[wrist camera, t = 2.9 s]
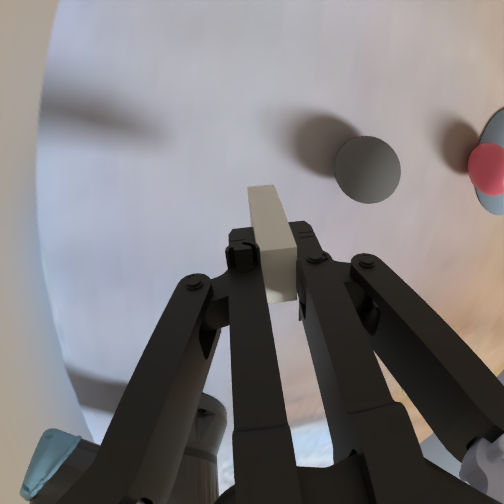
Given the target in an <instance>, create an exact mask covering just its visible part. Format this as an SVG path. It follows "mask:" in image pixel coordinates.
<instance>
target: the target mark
mask: <svg viewBox="0 0 504 504" xmlns="http://www.w3.org/2000/svg"><path fill="white" fill-rule="evenodd" d="M483 143H495V144H497V145H499V146H501V147H502V148H504V109H503V110H501V111H499V112H498V113H497V114H496V115H495V116H494V117H493V118H492V119H491V120H490V122H489V123H488V125H487V127H486V128H485V130H484V132H483V135H482V137H481V140H480V143H479V145H480V144H483ZM476 192H477V195H478V198H479V200H480V202H481V204H482V205H483V207H484V208H485V209H486V210H487V211H489V212H490V213H492V214H495V215H504V193H503V194H502V195H499V196H488V195H485V194H483V193H482V192H480V191H479V190H478V189H477V188H476Z"/></svg>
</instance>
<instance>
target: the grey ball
mask: <svg viewBox="0 0 504 504" xmlns="http://www.w3.org/2000/svg"><path fill="white" fill-rule="evenodd" d="M334 171H335V177H336V180H337V183H338V185H339V186H340V188H341V189H342V191H343V192H344V193H345V194H346V195H347V196H349V197H350V198H351V199H353V200H355V201H358V202H361V203H367V204H371V203H377V202H381V201H383V200H385V199H386V198H388V197H389V196H390V195H391V194H392V193H393V192H394V191H395V189H396V188H397V186H398V183H399V180H400V175H401V168H400V162H399V159H398V157H397V155H396V153H395V152H394V150H393V149H392V148H391V147H390V146H389V145H388V144H387V143H386V142H384V141H382V140H381V139H378V138H375V137H371V136H361V137H357V138H354V139H352V140H350V141H348V142H347V143H346V144H344V145H343V147H342V148H341V149H340V151H339V152H338V154H337V156H336V159H335V166H334Z"/></svg>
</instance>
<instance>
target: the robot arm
mask: <svg viewBox="0 0 504 504" xmlns="http://www.w3.org/2000/svg"><path fill="white" fill-rule="evenodd" d="M247 188H248V198H249V208H250V219H251V227H247V228H238V229H232V231H231V232H230V234H229V246H228V247H227V248H226V250H225V254H226V260H227V266H228V270H227V271H226V272H225V273H224V274H222V275H221V276H219V277H216V278H213V279H210V278H209V277H208V276H207V275H205V274H200V273H197V274H191V275H188V276H186V277H184V278H183V279H181V280H180V282H179V283H178V285H177V287H176V289H175V290H174V292H173V294H172V296H171V298H170V300H169V302H168V304H167V306H166V308H165V310H164V312H163V314H162V316H161V318H160V320H159V322H158V324H157V326H156V328H155V330H154V332H153V334H152V336H151V338H150V340H149V342H148V344H147V346H146V348H145V350H144V352H143V354H142V356H141V358H140V360H139V362H138V364H137V366H136V368H135V371H134V373H133V375H132V377H131V379H130V381H129V383H128V385H127V388H126V390H125V392H124V394H123V396H122V398H121V401H120V403H119V405H118V407H117V409H116V412H115V414H114V416H113V418H112V420H111V423H110V425H109V427H108V429H107V432H106V434H105V436H104V439H103V441H102V443H101V445H98V444H95V443H92V442H90V441H87V440H84V439H82V437H81V436H74V435H72V434H69V433H66V432H64V431H61V430H58V429H53V428H52V429H48V430H46V431H45V432H44V433H43V435H42V436H41V438H40V440H39V443H38V445H37V447H36V449H35V452H34V454H33V457H32V459H31V462H30V464H29V467H28V469H27V472H26V475H25V478H24V481H23V484H22V487H21V490H20V495H21V496H22V497H23V498H24V499H25V500H26V501H30V504H504V386H503V385H502V383H501V382H500V381H499V380H498V379H497V377H496V376H495V375H494V374H493V373H492V372H491V371H490V369H489V368H488V367H487V366H486V365H485V364H484V363H483V362H482V360H481V359H480V358H479V357H478V356H477V355H476V354H475V353H474V352H473V351H472V349H471V348H470V347H469V346H468V345H467V344H466V343H465V342H464V341H463V340H462V339H461V338H460V337H459V336H458V334H457V333H456V332H455V331H454V330H453V329H452V328H451V327H450V326H449V325H448V324H447V323H446V322H445V321H444V320H443V319H442V318H441V317H440V316H439V315H438V314H437V313H436V312H435V311H434V310H433V309H432V308H431V307H430V306H429V305H428V304H427V303H426V302H425V301H424V300H423V299H422V298H421V297H420V296H419V295H418V294H417V293H416V292H415V291H414V290H413V289H412V288H411V287H410V286H409V285H408V284H406V283H405V282H404V281H403V280H402V279H401V278H400V277H399V276H398V275H397V274H396V273H395V272H394V271H393V270H392V269H391V268H389V267H388V266H387V265H386V264H385V263H384V262H383V261H382V260H381V259H380V258H378V257H377V256H375V255H372V254H366V253H362V254H357V255H355V256H354V257H353V258H352V259H351V263H346V262H338V261H334V260H333V259H332V257H331V256H330V255H329V254H328V253H327V252H325V251H323V250H322V248H321V246H320V244H319V242H318V239H317V237H316V235H315V233H314V232H313V229H312V227H311V225H310V224H308V223H307V222H305V221H296V222H288V221H287V218H286V215H285V212H284V210H283V207H282V204H281V202H280V199H279V196H278V194H277V191H276V188H275V186H274V185H264V186H254V187H247ZM297 293H298V297H299V321H301V318H302V321H303V325H304V329H305V333H306V337H307V341H308V345H309V349H310V353H311V356H312V360H313V364H314V368H315V372H316V376H317V381H318V385H319V389H320V393H321V397H322V401H323V405H324V409H325V414H326V418H327V422H328V426H329V431H330V435H331V439H332V444H333V461H334V465H332V466H329V467H326V468H317V467H299V466H296V460H295V454H294V448H293V442H292V436H291V431H290V427H289V425H288V422H287V416H286V410H285V404H284V398H283V391H282V385H281V379H280V373H279V367H278V361H277V355H276V349H275V343H274V337H273V332H272V326H271V320H270V314H269V308H268V304H269V303H278V302H286V301H294V300H297ZM228 325H230V350H231V374H232V395H233V415H234V431H233V434H232V445H233V463H234V479H235V485H233V486H231V487H230V488H229V489H227V490H226V491H225V492H224V493H223V494H221V495H220V496H219V489H218V471H217V453H218V450H219V447H220V444H221V441H222V438H223V435H224V432H225V429H226V426H227V413H226V409H225V407H224V406H223V404H222V403H220V402H219V401H218V400H216V399H215V398H213V397H211V396H208V395H206V394H203V393H202V391H203V388H204V385H205V382H206V378H207V375H208V372H209V369H210V366H211V362H212V359H213V356H214V353H215V350H216V346H217V343H218V340H219V337H220V334H221V328H222V327H225V326H228ZM373 350H374V351H375V353H376V354H377V355H378V357H379V358H380V359H381V361H382V362H383V363H384V365H385V366H386V367H387V369H388V370H389V371H390V373H391V374H392V375H393V377H394V378H395V379H396V381H397V382H398V383H399V385H400V386H401V387H402V389H403V390H404V392H405V393H406V394H407V396H408V397H409V398H410V400H411V401H412V402H413V404H414V405H415V407H416V408H417V409H418V411H419V412H420V413H421V415H422V416H423V418H424V419H425V420H426V422H427V423H428V425H429V426H430V427H431V429H432V430H433V432H434V433H435V434H436V436H437V437H438V439H439V440H440V441H441V443H442V444H443V445H444V446H445V448H446V449H447V450H448V451H449V452H450V453H451V454H452V455H453V456H454V457H455V458H456V459H457V460H458V461H460V462H461V463H462V465H461V469H460V472H459V476H460V478H461V480H460V479H458V478H457V477H455V476H453V475H452V474H450V473H448V472H447V471H445V470H443V469H442V468H440V467H439V466H437V465H435V464H434V463H432V462H430V461H429V460H427V459H426V458H424V457H423V454H422V451H421V448H420V445H419V442H418V439H417V437H416V434H415V431H414V428H413V426H412V423H411V420H410V418H409V415H408V412H407V410H406V408H405V407H404V405H403V404H402V403H401V402H395V401H394V400H393V398H392V396H391V394H390V391H389V389H388V386H387V383H386V381H385V378H384V376H383V373H382V371H381V368H380V366H379V363H378V361H377V358H376V356H375V354H374V351H373ZM462 480H463V481H467V482H468V483H469V484H470V485H468V484H467V483H465V482H463V481H462Z"/></svg>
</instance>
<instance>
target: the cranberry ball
mask: <svg viewBox="0 0 504 504" xmlns="http://www.w3.org/2000/svg"><path fill="white" fill-rule="evenodd" d="M468 173H469V177H470V179H471V182H472V183H473V185H474V186H475V187H476V188H477V189H478V190H479V191H480V192H482V193H483V194H485V195H488V196H499V195H502V194H503V193H504V148H502V147H501V146H499V145H497V144H495V143H483V144H480V145H478V146H477V147H476V148H475V149H474V150H473V151H472V152H471V154H470V157H469V160H468Z"/></svg>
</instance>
